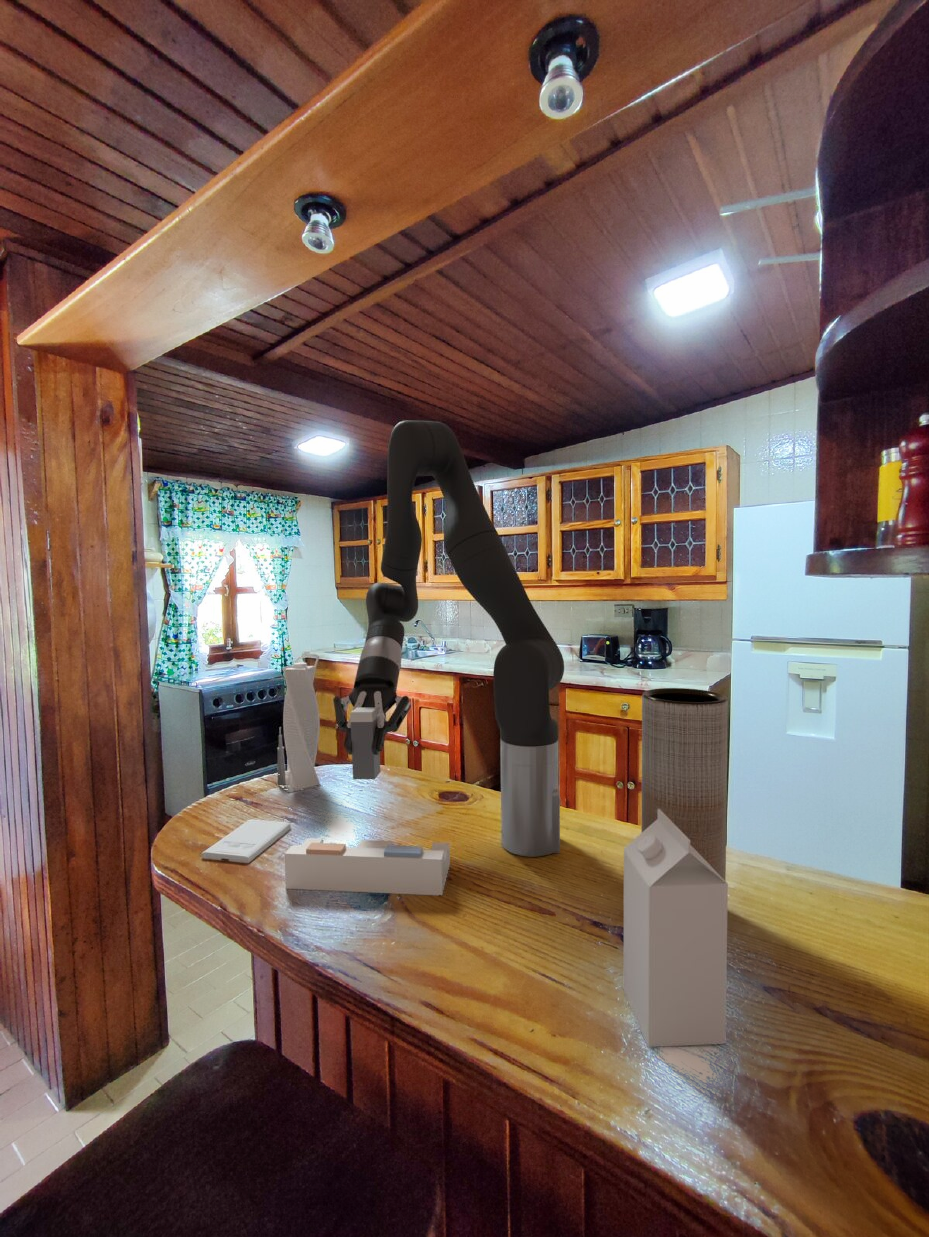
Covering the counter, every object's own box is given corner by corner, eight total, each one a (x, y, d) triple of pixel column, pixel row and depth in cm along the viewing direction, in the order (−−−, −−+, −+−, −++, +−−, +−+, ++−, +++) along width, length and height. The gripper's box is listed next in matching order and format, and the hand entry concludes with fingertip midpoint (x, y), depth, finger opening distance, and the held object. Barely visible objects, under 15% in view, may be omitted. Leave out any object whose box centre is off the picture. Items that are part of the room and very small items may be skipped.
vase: (625, 899, 73) (625, 691, 72) (684, 883, 77) (685, 685, 75) (679, 943, 64) (681, 705, 62) (743, 923, 67) (746, 698, 66)
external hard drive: (291, 831, 96) (248, 866, 84) (249, 827, 98) (201, 861, 86) (290, 822, 96) (248, 855, 84) (248, 818, 98) (201, 851, 86)
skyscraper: (313, 776, 124) (309, 652, 122) (329, 786, 118) (325, 655, 116) (275, 785, 118) (271, 655, 117) (290, 796, 112) (286, 659, 111)
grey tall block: (380, 772, 93) (377, 707, 92) (374, 779, 89) (371, 712, 89) (359, 771, 93) (357, 707, 93) (353, 779, 90) (350, 712, 89)
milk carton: (691, 988, 57) (693, 807, 56) (726, 1046, 50) (729, 839, 49) (622, 991, 56) (623, 809, 55) (648, 1049, 49) (649, 841, 48)
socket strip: (449, 865, 82) (449, 829, 82) (442, 895, 74) (441, 855, 74) (307, 860, 85) (306, 824, 84) (285, 888, 77) (284, 849, 76)
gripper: (336, 655, 99) (313, 740, 87) (414, 653, 97) (401, 740, 86) (346, 679, 104) (326, 763, 93) (420, 678, 103) (409, 763, 91)
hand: (362, 751), depth 89 cm, fingers closed on grey tall block, 3 cm apart
